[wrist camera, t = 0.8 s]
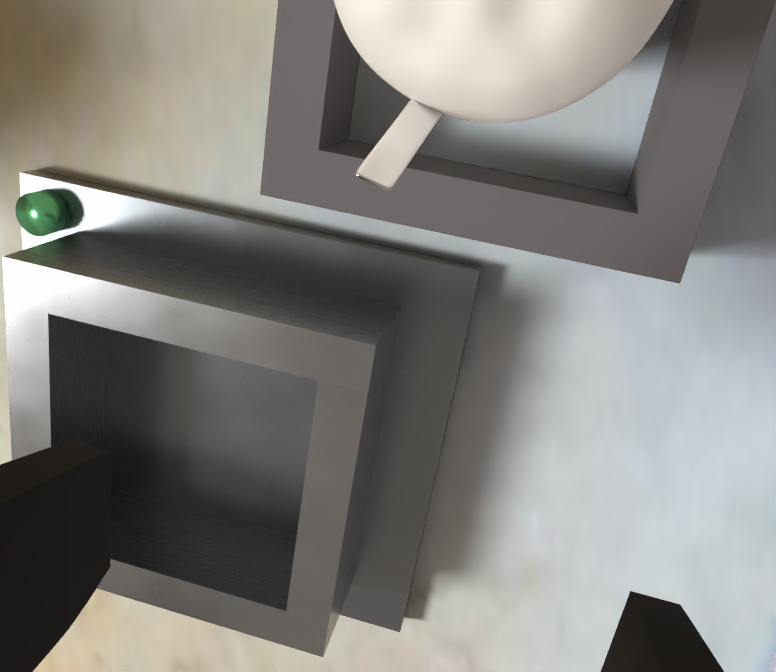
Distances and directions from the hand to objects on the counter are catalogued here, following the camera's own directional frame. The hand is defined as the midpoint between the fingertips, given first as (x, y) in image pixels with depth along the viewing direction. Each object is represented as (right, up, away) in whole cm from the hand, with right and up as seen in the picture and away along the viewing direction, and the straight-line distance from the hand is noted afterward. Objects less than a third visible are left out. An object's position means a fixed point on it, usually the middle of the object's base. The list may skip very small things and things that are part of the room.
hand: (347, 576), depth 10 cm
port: (-4, +1, +12) cm, 13 cm away
